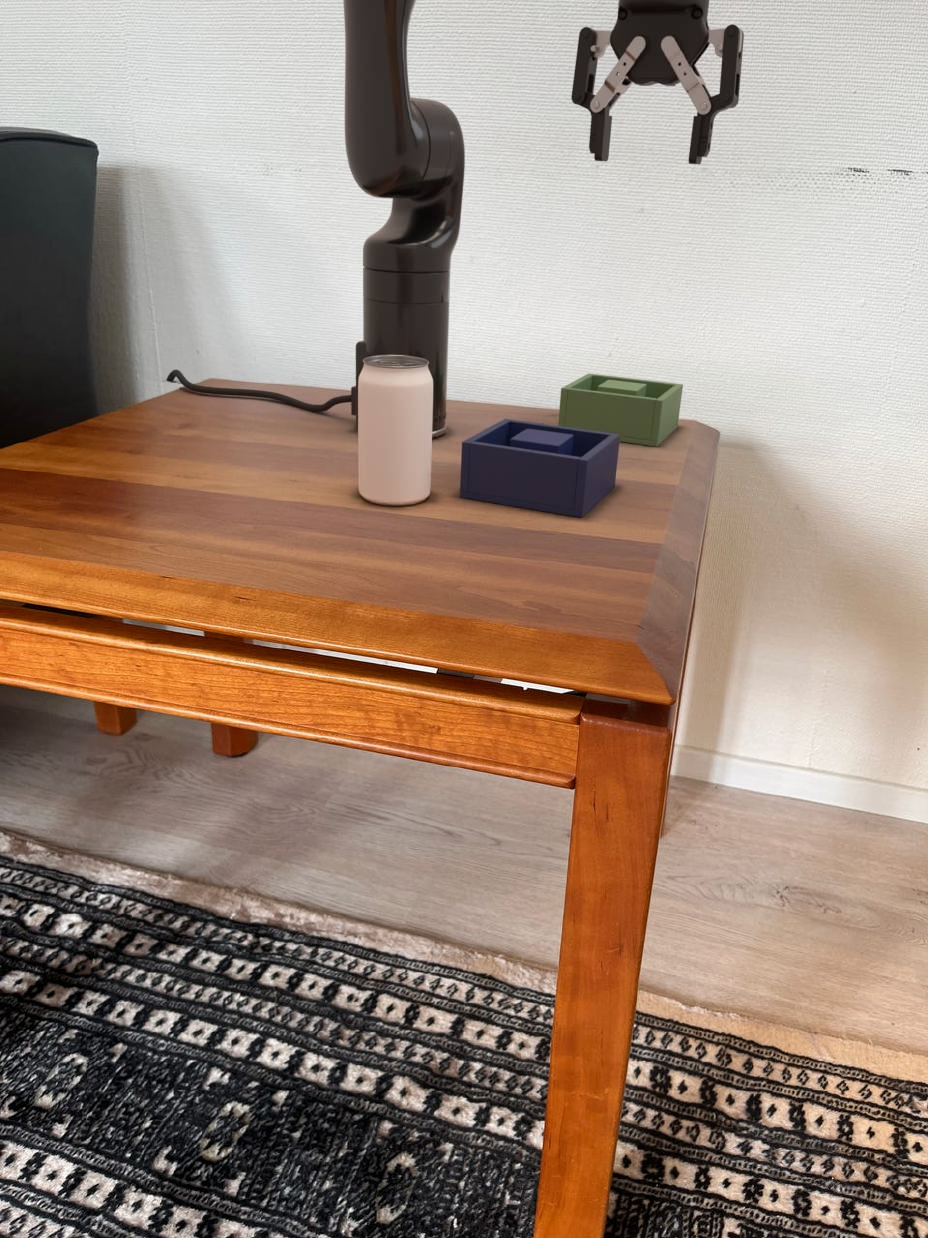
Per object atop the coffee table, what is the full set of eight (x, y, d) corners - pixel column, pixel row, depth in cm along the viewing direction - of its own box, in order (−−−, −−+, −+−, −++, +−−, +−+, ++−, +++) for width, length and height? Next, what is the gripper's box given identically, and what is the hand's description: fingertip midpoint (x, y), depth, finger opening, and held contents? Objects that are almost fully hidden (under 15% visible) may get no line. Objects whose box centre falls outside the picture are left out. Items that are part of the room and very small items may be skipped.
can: (420, 510, 85) (424, 369, 80) (349, 502, 86) (348, 363, 82) (437, 489, 91) (441, 357, 86) (370, 482, 92) (370, 351, 87)
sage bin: (557, 432, 113) (560, 387, 111) (584, 414, 122) (588, 373, 120) (657, 446, 109) (662, 400, 107) (677, 427, 118) (683, 384, 116)
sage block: (593, 426, 114) (597, 386, 112) (604, 418, 118) (608, 379, 116) (632, 431, 112) (637, 390, 110) (642, 423, 116) (646, 383, 114)
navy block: (507, 487, 90) (509, 438, 89) (523, 475, 94) (527, 428, 92) (554, 495, 89) (558, 445, 87) (569, 482, 93) (574, 434, 91)
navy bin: (459, 497, 89) (461, 441, 87) (502, 469, 98) (504, 418, 96) (582, 517, 85) (587, 460, 83) (614, 486, 94) (620, 434, 92)
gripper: (764, -49, 82) (734, 166, 89) (599, -43, 87) (583, 160, 94) (749, -69, 76) (718, 164, 82) (572, -61, 81) (557, 158, 87)
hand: (646, 162), depth 88 cm, fingers open, 8 cm apart
